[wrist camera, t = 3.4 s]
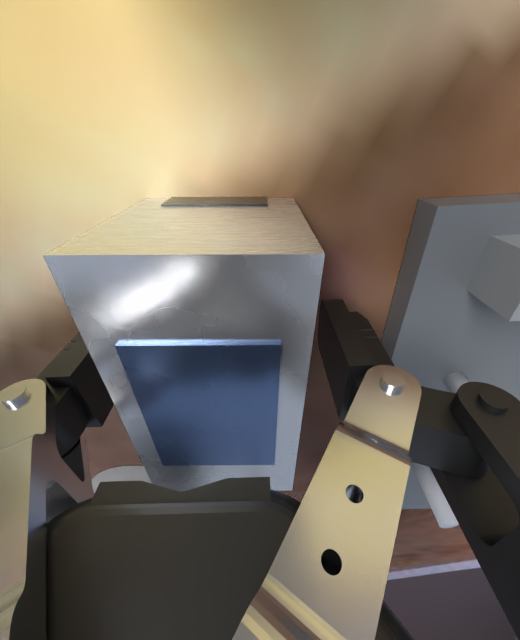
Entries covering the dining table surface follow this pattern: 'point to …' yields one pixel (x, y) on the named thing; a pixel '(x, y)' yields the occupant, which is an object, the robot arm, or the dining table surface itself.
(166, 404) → the block
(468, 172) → the dining table surface
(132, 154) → the dining table surface
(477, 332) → the grey tapered peg board
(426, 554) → the dining table surface
